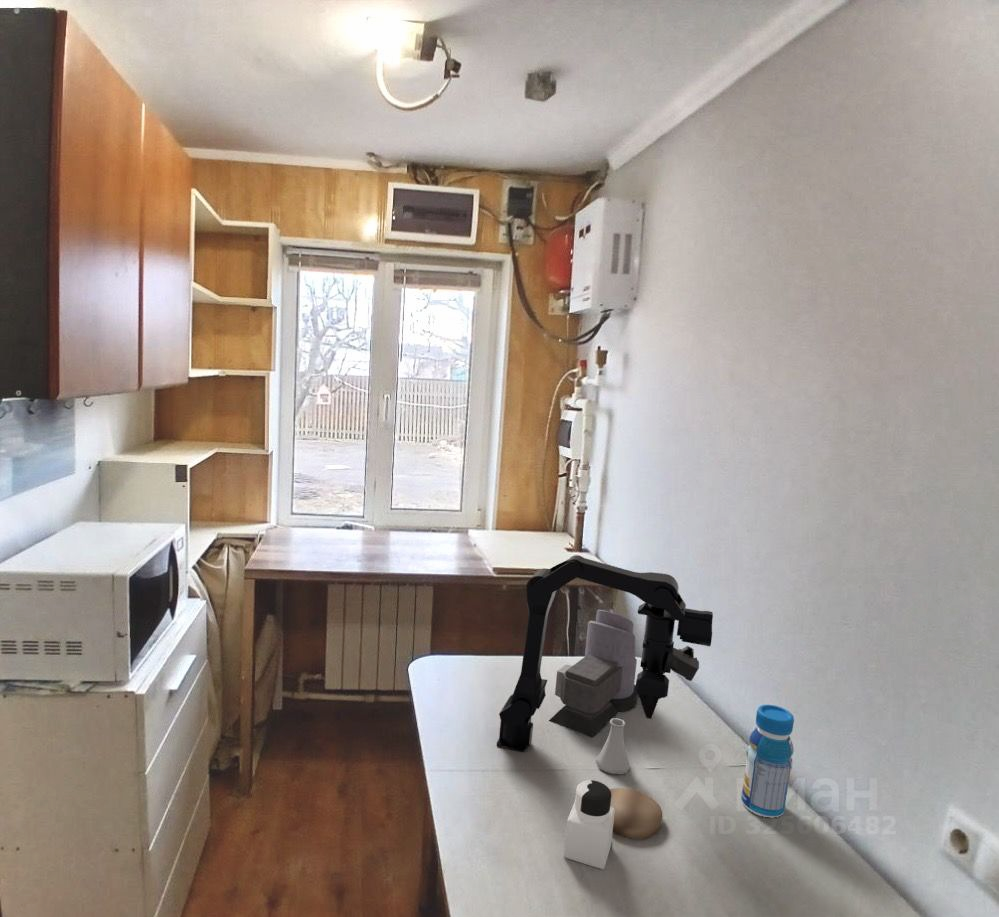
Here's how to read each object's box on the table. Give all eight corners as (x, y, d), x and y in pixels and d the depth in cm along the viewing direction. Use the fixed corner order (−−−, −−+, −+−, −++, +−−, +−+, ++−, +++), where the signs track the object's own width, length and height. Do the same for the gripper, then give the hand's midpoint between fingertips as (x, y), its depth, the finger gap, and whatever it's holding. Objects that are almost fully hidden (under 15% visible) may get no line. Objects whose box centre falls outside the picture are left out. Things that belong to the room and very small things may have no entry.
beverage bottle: (764, 824, 129) (778, 727, 127) (730, 798, 137) (743, 705, 134) (794, 814, 133) (808, 719, 131) (760, 789, 141) (773, 698, 138)
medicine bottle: (611, 843, 121) (618, 781, 119) (604, 870, 114) (611, 805, 113) (572, 832, 123) (578, 771, 122) (563, 857, 116) (569, 793, 115)
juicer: (593, 675, 188) (601, 590, 184) (648, 693, 179) (658, 605, 176) (540, 718, 162) (549, 620, 159) (601, 742, 154) (612, 640, 151)
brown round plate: (592, 828, 124) (593, 818, 124) (601, 791, 136) (602, 781, 136) (659, 846, 121) (660, 836, 121) (662, 806, 133) (664, 796, 132)
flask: (629, 778, 141) (634, 733, 140) (594, 771, 142) (599, 727, 141) (630, 759, 148) (635, 716, 147) (596, 753, 149) (601, 710, 148)
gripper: (699, 662, 128) (689, 739, 130) (699, 627, 146) (690, 695, 148) (639, 651, 131) (631, 726, 133) (646, 618, 149) (639, 685, 151)
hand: (650, 707), depth 141 cm, fingers open, 9 cm apart
